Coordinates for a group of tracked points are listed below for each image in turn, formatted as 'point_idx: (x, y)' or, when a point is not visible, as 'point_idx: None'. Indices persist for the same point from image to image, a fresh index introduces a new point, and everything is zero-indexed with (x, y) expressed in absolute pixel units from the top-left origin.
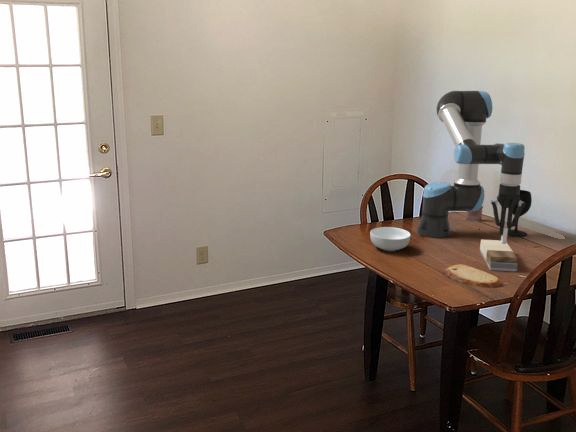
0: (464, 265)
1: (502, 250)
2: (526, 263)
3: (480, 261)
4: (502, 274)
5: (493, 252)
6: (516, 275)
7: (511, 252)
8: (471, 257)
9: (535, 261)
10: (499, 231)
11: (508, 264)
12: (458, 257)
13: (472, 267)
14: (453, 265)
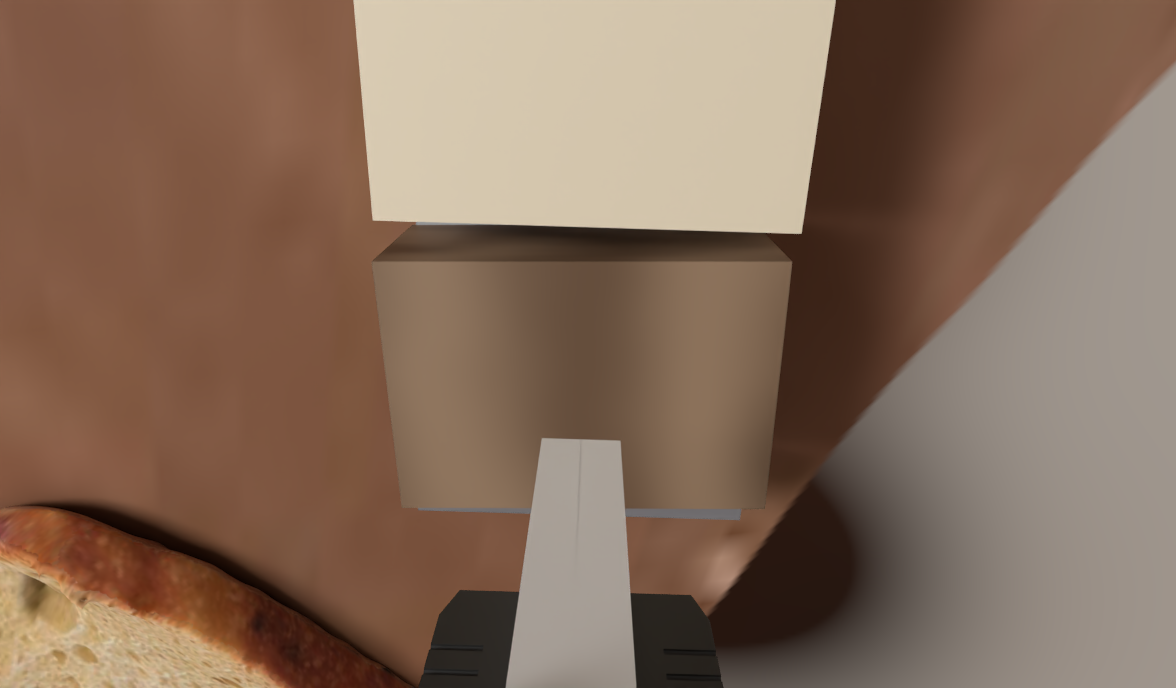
0: (112, 607)
1: (635, 209)
2: (963, 172)
3: (355, 176)
4: None
5: (464, 329)
6: (682, 565)
7: (758, 292)
8: (236, 9)
9: (1141, 63)
10: (429, 674)
11: (629, 512)
12: (50, 39)
13: (203, 643)
14: (3, 555)
